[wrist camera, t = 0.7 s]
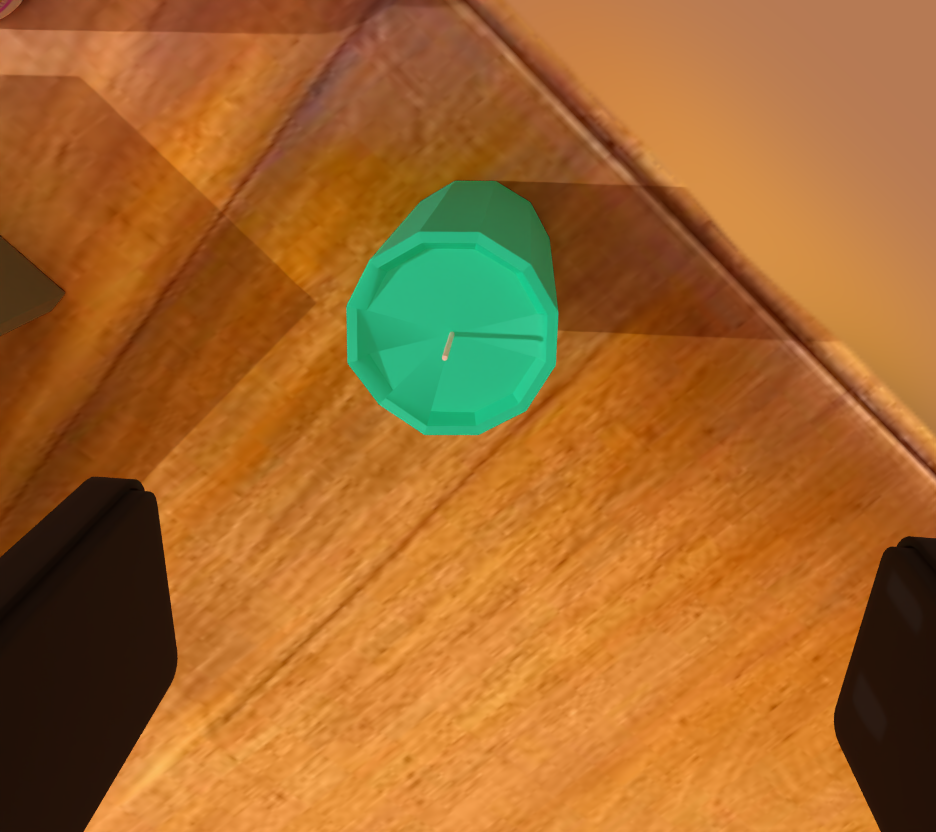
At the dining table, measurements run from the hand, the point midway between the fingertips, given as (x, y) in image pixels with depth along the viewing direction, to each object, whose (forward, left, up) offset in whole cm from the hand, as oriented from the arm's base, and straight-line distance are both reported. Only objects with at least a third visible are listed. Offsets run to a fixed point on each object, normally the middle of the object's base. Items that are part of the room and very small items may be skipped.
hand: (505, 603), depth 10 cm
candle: (0, -2, -22) cm, 22 cm away
